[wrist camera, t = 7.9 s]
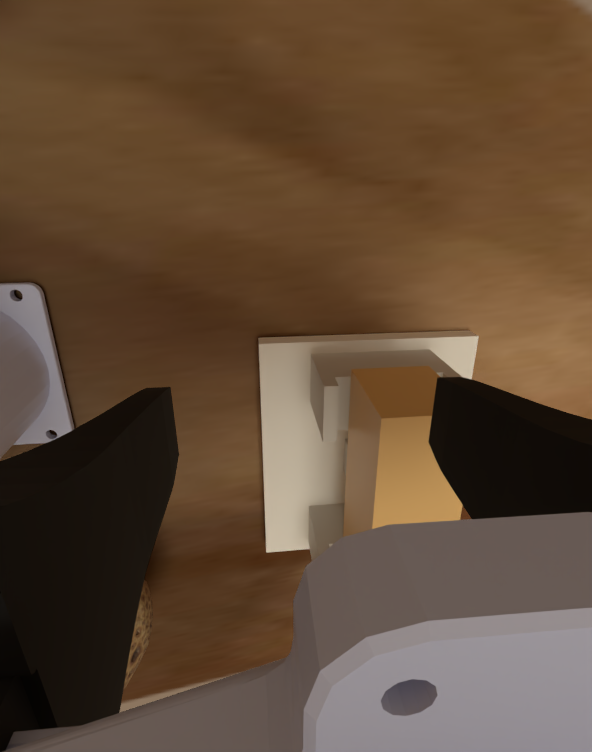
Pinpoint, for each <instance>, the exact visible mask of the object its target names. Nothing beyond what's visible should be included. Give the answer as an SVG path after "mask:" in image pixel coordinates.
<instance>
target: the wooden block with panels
mask: <svg viewBox="0 0 592 752" xmlns="http://www.w3.org/2000/svg"><path fill="white" fill-rule="evenodd" d="M438 377H440V376H439V375H438V374H437V373H436V372H435V371H434V370H433V369H432V368H431V367H429V366H410V367H387V368H365V369H351V386H350V405H349V425H348V445H347V465H346V485H345V504H344V524H343V537H345V536H349V535H352V534H356V533H360V532H363V531H367V530H371V529H374V528H378V527H382V526H385V525H391V524H406V523H422V522H438V521H454V520H460V516H461V510H462V503H461V501H460V500H459V498H458V497H457V495H456V494H455V492H454V491H453V489H452V488H451V486H450V484H449V483H448V481H447V480H446V478H445V476H444V475H443V473H442V472H441V470H440V468H439V465H438V463H437V461H436V459H435V457H434V454H433V452H432V449H431V447H430V445H429V442H428V441H429V434H430V426H431V419H432V412H433V405H434V397H435V390H436V383H437V378H438Z"/></svg>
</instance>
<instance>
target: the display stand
mask: <svg viewBox="0 0 592 752" xmlns="http://www.w3.org/2000/svg"><path fill="white" fill-rule="evenodd" d="M478 338H479V336H478V335H476V334H475V333H473V332H471V331H470V330H463V331H434V332H406V333H377V334H348V335H319V336H291V337H262V338H258V344H259V372H260V399H261V426H262V453H263V481H264V508H265V535H266V553H267V552H278V551H290V550H302V549H310V553H311V558H312V561H313V560H314V559H316V558H317V557H318V556H319V555H321V554H322V553H323V552H324V551H325V550H327V549H328V548H329V547H330V546H332V545H333V544H334V543H335V542H336V541H338V540H339V539H340V538H342V537H343V524H344V504H345V485H346V465H347V445H348V425H349V405H350V386H351V369H365V368H387V367H410V366H429V367H431V368H432V369H433V370H434V371H435V372H436V373H437V374H438V375H439V376H440V377H463V378H468V379H472V373H473V367H474V361H475V355H476V349H477V344H478Z"/></svg>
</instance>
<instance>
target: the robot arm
mask: <svg viewBox="0 0 592 752" xmlns="http://www.w3.org/2000/svg"><path fill="white" fill-rule="evenodd" d="M14 290H18V291H20V292H21V293H22V295H23V299H22V300H21V299H18V298H17V297H16V296H15V295H14ZM49 430H53V431H55V432H56V433H57V435H52V434H51V433H50V432H49ZM428 442H429V445H430V447H431V449H432V452H433V454H434V457H435V459H436V461H437V463H438V465H439V468H440V470H441V472H442V473H443V475H444V476H445V478H446V480H447V481H448V483H449V484H450V486H451V488H452V489H453V491H454V492H455V494H456V495H457V497H458V498H459V500H460V501H461V503H462V505H463V506H464V508H465V509H466V511H467V512H468V514H469V515H470V517H471V518H472V519H470V520H454V521H438V522H422V523H406V524H391V525H385V526H382V527H378V528H374V529H371V530H367V531H363V532H360V533H356V534H352V535H349V536H345V537H342V538H340V539H339V540H338V541H336V542H335V543H334V544H333V545H332V546H330V547H329V548H328V549H327V550H325V551H324V552H323V553H322V554H321V555H319V556H318V557H317V558H316V559H314V560H313V561H312V562H311V563H310V564H308V565H307V566H306V567H305V570H304V573H303V576H302V579H301V581H300V584H299V587H298V590H297V593H296V595H295V598H294V601H293V608H294V637H293V643H292V648H291V652H290V654H289V655H288V656H287V657H286V658H284V659H281V660H278V661H275V662H272V663H269V664H265V665H262V666H259V667H256V668H253V669H250V670H247V671H244V672H241V673H238V674H235V675H232V676H229V677H226V678H223V679H220V680H217V681H214V682H211V683H208V684H205V685H202V686H199V687H196V688H193V689H190V690H187V691H184V692H181V693H178V694H175V695H172V696H169V697H166V698H163V699H160V700H157V701H154V702H151V703H148V704H145V705H142V706H139V707H136V708H132V709H129V710H126V711H123V712H120V713H119V710H120V705H121V699H122V694H123V688H124V682H125V676H126V670H127V664H128V659H129V653H130V648H131V643H132V637H133V632H134V627H135V622H136V616H137V611H138V607H139V602H140V597H141V592H142V588H143V583H144V578H145V573H146V570H147V566H148V563H149V559H150V556H151V553H152V550H153V546H154V543H155V540H156V537H157V534H158V531H159V528H160V525H161V522H162V519H163V516H164V513H165V510H166V507H167V504H168V501H169V498H170V495H171V492H172V488H173V485H174V480H175V474H176V468H177V462H178V456H179V452H178V444H177V436H176V428H175V420H174V412H173V404H172V396H171V388H170V387H162V388H146V389H143V390H141V391H139V392H137V393H135V394H134V395H132V396H130V397H129V398H127V399H125V400H124V401H122V402H120V403H119V404H117V405H116V406H114V407H112V408H111V409H109V410H107V411H106V412H104V413H102V414H101V415H99V416H97V417H96V418H94V419H92V420H90V421H88V422H87V423H85V424H83V425H81V426H79V427H78V428H76V429H74V424H73V420H72V416H71V411H70V407H69V402H68V398H67V394H66V389H65V385H64V381H63V376H62V372H61V367H60V363H59V359H58V354H57V350H56V346H55V341H54V337H53V332H52V328H51V324H50V319H49V315H48V310H47V306H46V302H45V297H44V293H43V291H42V289H41V288H40V287H39V286H38V285H36V284H35V283H30V282H23V283H0V458H1V457H2V456H3V455H4V454H5V453H6V452H7V451H8V450H9V449H10V447H11V446H12V445H21V444H39V443H46V444H43V445H41V446H39V447H36V448H34V449H32V450H30V451H27V452H25V453H22V454H20V455H17V456H14V457H11V458H8V459H6V460H3V461H0V752H592V420H591V419H587V418H583V417H580V416H576V415H573V414H569V413H566V412H563V411H560V410H557V409H554V408H551V407H548V406H545V405H542V404H539V403H536V402H533V401H530V400H528V399H525V398H522V397H519V396H517V395H514V394H511V393H508V392H506V391H503V390H500V389H498V388H495V387H492V386H489V385H487V384H484V383H481V382H478V381H475V380H471V379H468V378H463V377H438V378H437V383H436V390H435V397H434V405H433V412H432V419H431V426H430V434H429V441H428Z"/></svg>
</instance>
